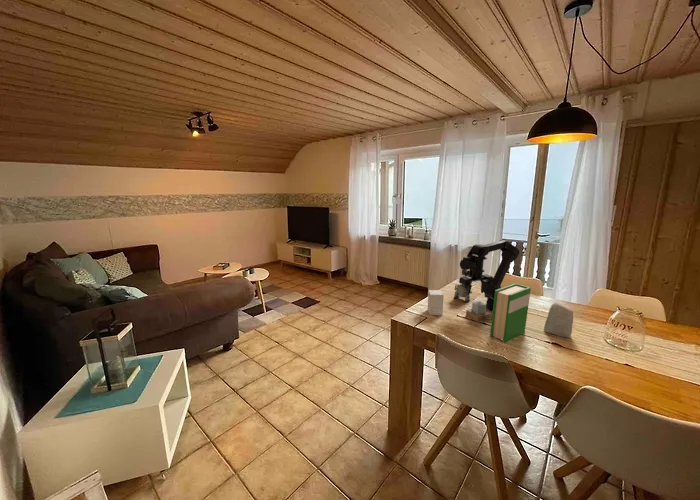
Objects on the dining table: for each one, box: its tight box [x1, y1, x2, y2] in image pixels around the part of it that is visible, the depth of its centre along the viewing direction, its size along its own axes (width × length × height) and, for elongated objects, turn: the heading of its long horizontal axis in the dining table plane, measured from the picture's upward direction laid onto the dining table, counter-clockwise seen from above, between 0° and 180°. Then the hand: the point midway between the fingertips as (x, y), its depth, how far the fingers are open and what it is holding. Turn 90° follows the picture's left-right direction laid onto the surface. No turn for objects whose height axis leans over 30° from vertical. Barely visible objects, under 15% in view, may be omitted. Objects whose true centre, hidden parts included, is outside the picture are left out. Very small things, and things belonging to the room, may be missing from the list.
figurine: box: [453, 275, 473, 303], centre depth 182 cm, size 9×12×15 cm
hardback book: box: [489, 282, 532, 344], centre depth 137 cm, size 18×7×24 cm, turn 122°
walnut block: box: [465, 308, 492, 323], centre depth 158 cm, size 9×9×4 cm
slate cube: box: [471, 300, 487, 314], centre depth 157 cm, size 5×5×5 cm
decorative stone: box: [543, 302, 574, 339], centre depth 139 cm, size 11×6×15 cm, turn 39°
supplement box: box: [427, 289, 445, 316], centre depth 164 cm, size 7×7×13 cm
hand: (475, 293), depth 161 cm, fingers open, 9 cm apart
